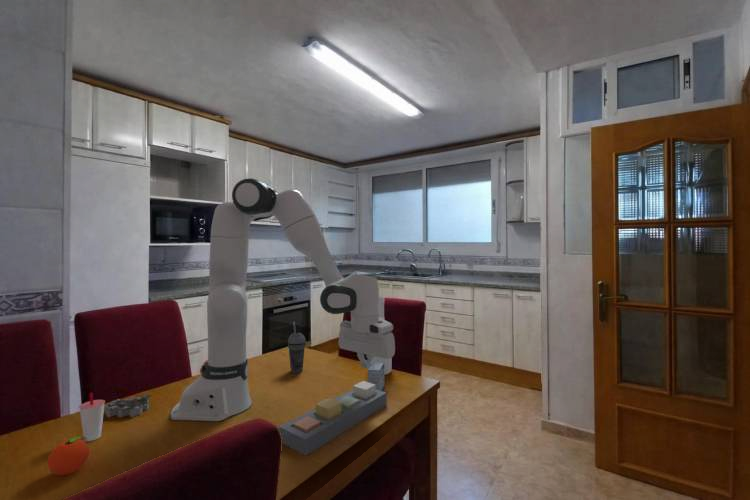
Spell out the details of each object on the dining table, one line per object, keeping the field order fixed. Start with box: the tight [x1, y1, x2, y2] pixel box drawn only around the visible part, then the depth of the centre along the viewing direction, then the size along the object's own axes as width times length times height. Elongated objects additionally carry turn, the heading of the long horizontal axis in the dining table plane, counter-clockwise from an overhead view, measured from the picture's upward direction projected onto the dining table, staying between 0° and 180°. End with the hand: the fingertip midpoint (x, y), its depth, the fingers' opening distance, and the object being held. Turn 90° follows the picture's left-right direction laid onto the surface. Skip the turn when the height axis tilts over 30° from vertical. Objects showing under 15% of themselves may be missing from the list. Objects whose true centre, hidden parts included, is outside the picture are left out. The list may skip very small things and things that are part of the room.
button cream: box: [352, 380, 376, 399], centre depth 111 cm, size 5×5×4 cm
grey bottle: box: [367, 296, 393, 376], centre depth 141 cm, size 10×10×30 cm
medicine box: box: [367, 363, 385, 392], centre depth 123 cm, size 8×4×9 cm, turn 168°
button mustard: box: [315, 397, 341, 420], centre depth 98 cm, size 5×5×4 cm
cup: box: [78, 392, 106, 442], centre depth 92 cm, size 5×5×12 cm
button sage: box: [337, 396, 359, 409], centre depth 104 cm, size 5×5×4 cm
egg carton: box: [104, 394, 152, 418], centre depth 107 cm, size 11×8×4 cm
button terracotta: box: [293, 416, 321, 433], centre depth 91 cm, size 5×5×4 cm
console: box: [278, 389, 388, 457], centre depth 101 cm, size 34×10×4 cm, turn 143°
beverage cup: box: [287, 321, 307, 374], centre depth 141 cm, size 7×7×20 cm
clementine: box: [47, 436, 90, 476], centre depth 79 cm, size 8×7×7 cm
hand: (365, 367), depth 111 cm, fingers closed
